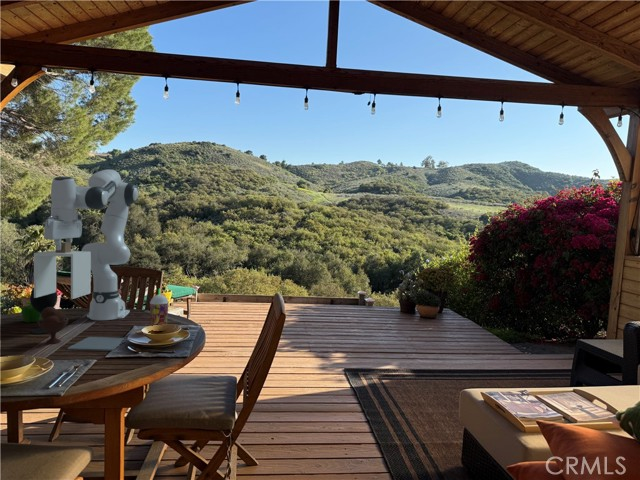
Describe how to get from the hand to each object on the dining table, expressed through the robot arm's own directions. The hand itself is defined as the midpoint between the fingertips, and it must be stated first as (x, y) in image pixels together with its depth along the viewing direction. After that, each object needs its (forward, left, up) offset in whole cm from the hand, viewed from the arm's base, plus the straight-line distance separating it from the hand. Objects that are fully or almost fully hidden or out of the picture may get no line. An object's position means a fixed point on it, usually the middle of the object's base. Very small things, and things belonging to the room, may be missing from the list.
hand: (63, 249), depth 175 cm
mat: (+1, +16, -39) cm, 42 cm away
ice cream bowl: (0, -4, -39) cm, 40 cm away
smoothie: (-22, +32, -39) cm, 55 cm away
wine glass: (-16, -18, -39) cm, 46 cm away
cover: (0, 0, -19) cm, 19 cm away
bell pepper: (-32, -34, -39) cm, 61 cm away
